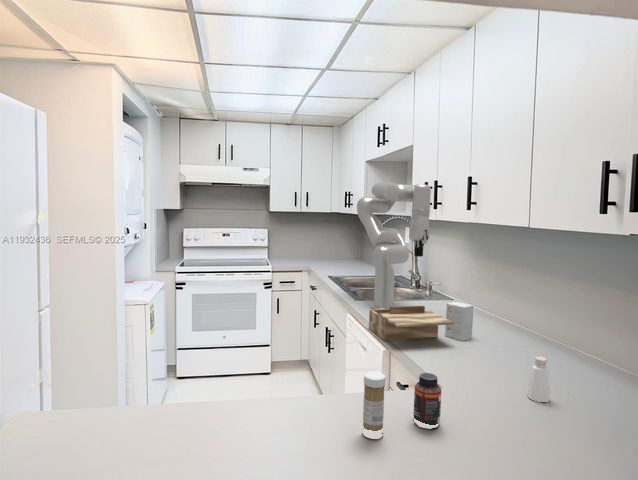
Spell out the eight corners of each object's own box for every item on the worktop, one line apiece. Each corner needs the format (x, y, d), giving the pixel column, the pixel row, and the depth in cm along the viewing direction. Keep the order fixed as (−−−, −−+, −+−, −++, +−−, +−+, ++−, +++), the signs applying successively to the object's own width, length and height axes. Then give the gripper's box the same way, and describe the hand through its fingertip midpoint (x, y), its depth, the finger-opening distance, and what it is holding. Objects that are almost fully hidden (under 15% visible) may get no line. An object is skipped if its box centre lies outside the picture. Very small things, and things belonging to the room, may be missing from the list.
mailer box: (368, 328, 169) (369, 309, 168) (417, 326, 174) (418, 307, 173) (384, 341, 153) (385, 320, 153) (437, 338, 159) (438, 317, 158)
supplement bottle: (445, 427, 94) (448, 378, 93) (426, 433, 91) (428, 383, 90) (426, 415, 99) (428, 369, 98) (407, 420, 96) (409, 373, 95)
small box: (472, 338, 160) (474, 305, 159) (463, 341, 156) (465, 307, 155) (453, 333, 166) (455, 301, 165) (444, 335, 162) (446, 303, 161)
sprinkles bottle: (381, 429, 92) (383, 371, 91) (384, 441, 87) (387, 379, 86) (360, 429, 92) (363, 370, 91) (362, 440, 87) (365, 378, 86)
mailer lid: (379, 315, 158) (379, 306, 158) (430, 313, 164) (431, 304, 164) (396, 327, 143) (397, 317, 143) (453, 324, 148) (453, 315, 148)
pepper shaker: (522, 395, 111) (524, 355, 110) (537, 392, 113) (539, 353, 112) (539, 404, 106) (542, 362, 105) (554, 401, 108) (557, 360, 107)
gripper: (404, 213, 183) (402, 254, 184) (421, 213, 169) (418, 258, 170) (420, 213, 185) (418, 254, 186) (437, 214, 170) (435, 258, 172)
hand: (418, 256), depth 178 cm, fingers closed
